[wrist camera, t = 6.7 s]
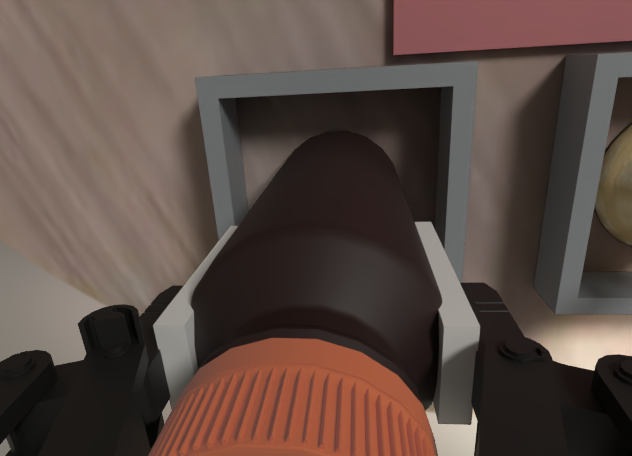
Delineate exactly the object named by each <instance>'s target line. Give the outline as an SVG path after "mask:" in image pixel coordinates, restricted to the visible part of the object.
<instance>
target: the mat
mask: <svg viewBox="0 0 632 456" xmlns="http://www.w3.org/2000/svg"><path fill="white" fill-rule="evenodd" d="M618 41H632V0H393V55H405V54H421V53H438V52H454V51H471V50H487V49H503V48H520V47H536V46H553V45H569V44H586V43H602V42H618Z"/></svg>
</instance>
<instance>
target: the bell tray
mask: <svg viewBox="0 0 632 456" xmlns="http://www.w3.org/2000/svg"><path fill="white" fill-rule="evenodd" d="M618 77H632V52H618V53H601V54H584V55H567V56H566V61H565V68H564V76H563V83H562V90H561V97H560V104H559V111H558V118H557V125H556V132H555V139H554V146H553V153H552V160H551V168H550V175H549V182H548V189H547V196H546V203H545V210H544V217H543V224H542V231H541V238H540V245H539V252H538V260H537V267H536V274H535V281H534V288H535V290H536V291H537V292H538V294H539V295H540V296H541V297H542V299H543V300H544V301H545V302H546V304H547V305H548V306H549V307H550V309H551V310H552V311H553V312H554V314H625V315H632V272H583V267H584V261H585V256H586V250H587V245H588V240H589V234H590V229H591V223H592V218H593V212H594V207H595V202H596V196H597V191H598V185H599V180H600V174H601V169H602V164H603V158H604V153H605V147H606V142H607V137H608V131H609V126H610V120H611V115H612V109H613V104H614V99H615V93H616V88H617V82H618Z"/></svg>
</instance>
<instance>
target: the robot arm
mask: <svg viewBox="0 0 632 456" xmlns="http://www.w3.org/2000/svg"><path fill="white" fill-rule="evenodd" d="M415 225H416V227H417V230H418V233H419V235H420V238H421V241H422V244H423V246H424V249H425V252H426V255H427V257H428V260H429V263H430V266H431V268H432V271H433V274H434V276H435V279H436V282H437V285H438V287H439V290H440V293H441V296H442V305H441V307H440V308H439V309H438V316H439V358H438V374H437V385H436V390H435V395H434V399H433V402H434V407H435V411H436V416H437V420H438V424H467V425H471V420H472V409H474V412H475V415H476V418H477V420H478V423H477V433H476V443H475V453H474V456H632V356H626V355H619V354H618V355H606V356H604V357H602V358H600V359H598V361H597V364H596V367H595V371H592V370H587V369H583V368H578V367H573V366H568V365H565V364H561V363H558V362H555V361H553V360H552V357H551V355H550V353H549V351H548V350H547V349H546V348H544V347H543V346H542V345H541V344H539V343H537V342H535V341H533V340H531V339H529V338H525V337H524V335H523V334H522V332H521V330H520V329H519V327H518V325H517V324H516V322H515V321H514V319H513V317H512V316H511V314H510V312H508V309H507V308H506V306H505V304H504V303H503V301H502V299H501V298H500V296H499V295H498V293H497V291H495V290H494V289H492V288H491V287H490V286H488V285H487V284H485V283H460V282H459V280H458V278H457V276H456V274H455V272H454V269H453V267H452V265H451V263H450V261H449V259H448V257H447V255H446V252H445V250H444V248H443V246H442V244H441V242H440V240H439V238H438V235H437V233H436V231H435V229H434V227H433V225H432V223H431V222H415ZM237 227H238V226H230V227H229V229H228V230H227V231H226V233H225V234H224V235H223V236H222V238H221V239H220V240H219V241H218V243H217V244H216V245H215V247H214V248H213V249H212V250H211V252H210V253H209V254H208V256H207V257H206V258H205V259H204V261H203V262H202V263H201V264H200V266H199V267H198V268H197V270H196V271H195V272H194V273H193V275H192V276H191V277H190V279H189V280H188V281H187V282H186V284H185V285H184V286H172V287H170V288H168V289H167V290H165V291H163V292H162V293H160V294H159V295H158V296H157V297H156V298H155V300H154V301H153V302H152V303H151V305H149V307H148V308H147V309H146V310H145V313H143V314H142V315H141V316H140V317H139V313H138V309H136V308H135V307H134V306H130V305H113V306H109V307H104V308H101V309H99V310H96V311H94V312H92V313H90V314H89V315H87V316H85V317H84V318H83V319H82V320H81V321H80V322H79V323H78V326H79V329H80V333H81V336H82V339H83V343H84V346H85V350H86V353H87V354H86V356H85V358H84V360H81V361H77V362H72V363H66V364H61V365H56V366H54V363H53V361H52V357H51V355H50V354H49V353H47V352H46V351H40V350H34V351H25V352H21V353H20V354H15V355H12V356H11V357H9V358H7V359H5V360H3V361H1V362H0V444H1V443H2V442H3V440H4V439H5V438H7V441H8V443H9V446H10V448H11V450H10V451H9V452H8V453H7V454H6V456H148V455H149V453H150V451H151V449H152V447H153V446H154V444H155V442H156V440H157V438H158V436H159V434H160V432H161V431H162V428H163V426H164V420H163V416H162V411H163V409H164V407H165V406H166V404H167V402H168V400H170V404H171V409H172V410H173V408H174V406H175V404H176V402H177V400H178V398H179V397H180V395H181V393H182V392H183V391H184V389H185V388H186V387H187V385H188V384H189V382H190V381H191V380H192V378H193V377H194V375H195V374H196V373H197V371H198V370H199V369H198V363H197V357H196V351H195V342H194V311H193V309H192V308H191V300H192V295H193V292H194V290H195V288H196V286H197V285H198V283H199V282H200V280H201V279H202V277H203V275H204V274H205V272H206V271H207V269H208V268H209V266H210V265H211V263H212V262H213V260H214V259H215V257H216V256H217V254H218V253H219V252H220V250H221V249H222V248H223V246H224V245H225V244H226V242H227V241H228V240H229V238H230V237H231V235H232V234H233V233H234V231H235V230H236V229H237Z"/></svg>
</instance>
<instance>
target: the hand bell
mask: <svg viewBox="0 0 632 456" xmlns="http://www.w3.org/2000/svg"><path fill="white" fill-rule="evenodd" d="M595 210H596V214H597V216H598V218H599V219H600V221H601V223H602V224H603V226H604V227H605V228H606V229H607V231H608V232H609V233H610V234H611V235H613V236H614V237H615V238H617V239H618V240H619V241H621V242H623V243H625V244H627V245H630V246H632V124H631V125H630V126H629V127H628V128H626V129H625V130H624V131H623V132H622V133H621V134H620V135H619V136H618V137H617V138H616V139H615V140H614V142H613V143H612V144H611V146H610V147H609V149H608V150H607V151H606V153H605V155H604V158H603V164H602V169H601V174H600V180H599V185H598V191H597V196H596V202H595Z"/></svg>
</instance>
